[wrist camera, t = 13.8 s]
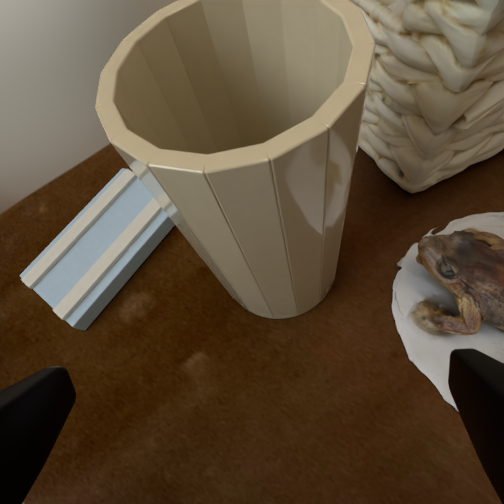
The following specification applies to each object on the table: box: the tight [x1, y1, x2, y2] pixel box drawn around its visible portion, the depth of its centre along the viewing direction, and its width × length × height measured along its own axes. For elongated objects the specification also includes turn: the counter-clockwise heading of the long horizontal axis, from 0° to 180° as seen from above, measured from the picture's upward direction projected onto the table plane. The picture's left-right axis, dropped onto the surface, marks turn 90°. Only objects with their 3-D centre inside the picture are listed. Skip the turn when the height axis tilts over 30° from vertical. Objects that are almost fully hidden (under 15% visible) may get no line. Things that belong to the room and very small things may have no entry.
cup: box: [95, 0, 376, 319], centre depth 14 cm, size 7×7×13 cm
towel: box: [20, 168, 175, 331], centre depth 21 cm, size 10×6×2 cm, turn 144°
